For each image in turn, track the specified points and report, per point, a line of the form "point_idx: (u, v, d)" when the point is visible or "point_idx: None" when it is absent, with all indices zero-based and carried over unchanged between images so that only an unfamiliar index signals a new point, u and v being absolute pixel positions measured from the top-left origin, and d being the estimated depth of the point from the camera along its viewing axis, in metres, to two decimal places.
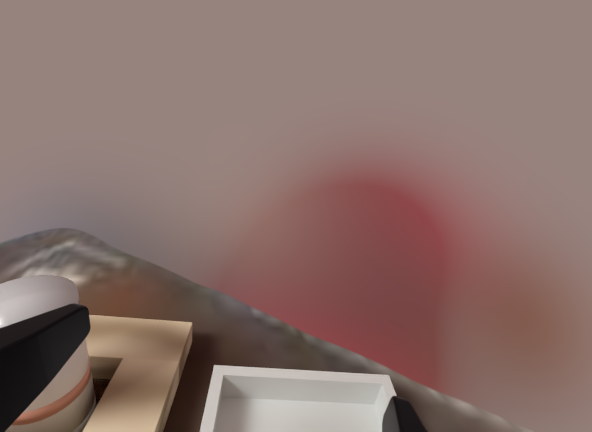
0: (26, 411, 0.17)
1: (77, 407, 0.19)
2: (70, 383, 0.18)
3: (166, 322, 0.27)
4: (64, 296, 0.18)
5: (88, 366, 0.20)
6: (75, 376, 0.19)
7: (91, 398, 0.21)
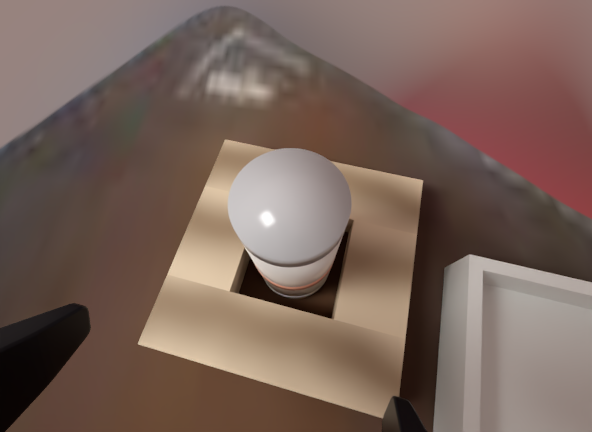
0: (296, 287, 0.16)
1: (327, 274, 0.19)
2: (329, 266, 0.16)
3: (391, 176, 0.22)
4: (335, 194, 0.12)
5: None
6: (333, 259, 0.16)
7: None
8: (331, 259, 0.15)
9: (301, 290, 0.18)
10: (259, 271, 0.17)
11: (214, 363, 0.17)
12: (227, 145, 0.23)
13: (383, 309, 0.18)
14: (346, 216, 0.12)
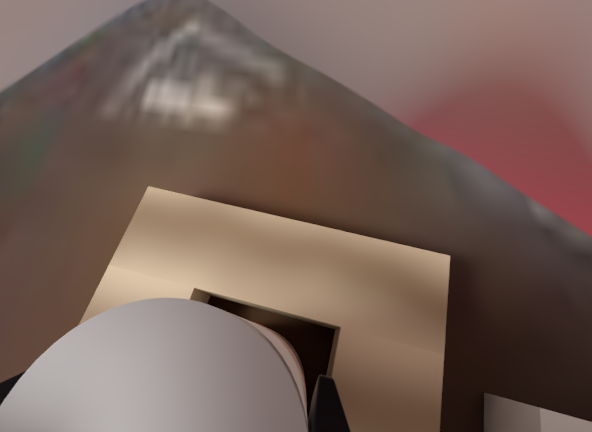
0: None
1: None
2: None
3: (399, 249, 0.14)
4: None
5: (306, 398, 0.10)
6: None
7: None
8: None
9: None
10: None
11: None
12: (150, 196, 0.15)
13: None
14: None
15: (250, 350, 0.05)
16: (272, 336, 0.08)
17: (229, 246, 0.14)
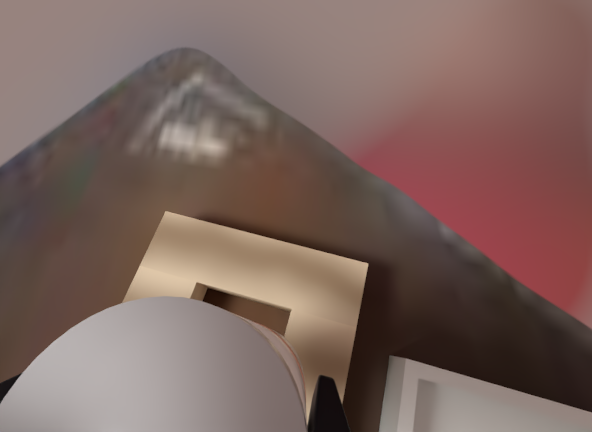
0: None
1: None
2: None
3: (335, 258, 0.20)
4: None
5: (305, 397, 0.10)
6: None
7: None
8: None
9: None
10: None
11: None
12: (167, 218, 0.22)
13: None
14: None
15: (249, 348, 0.05)
16: (271, 335, 0.08)
17: (220, 254, 0.21)
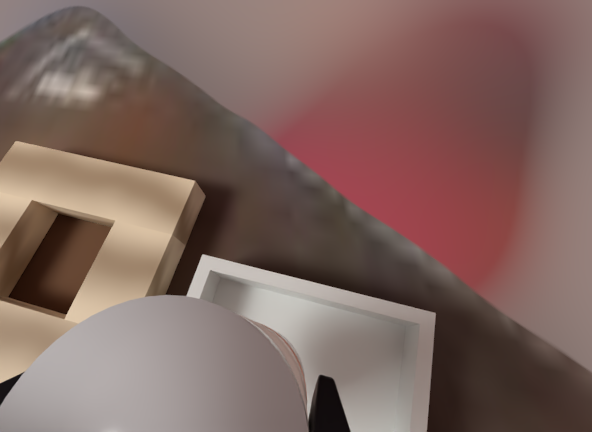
0: None
1: None
2: None
3: (165, 177, 0.22)
4: None
5: (306, 397, 0.10)
6: None
7: None
8: None
9: None
10: None
11: None
12: (16, 147, 0.23)
13: None
14: None
15: (251, 347, 0.05)
16: (273, 334, 0.08)
17: (59, 176, 0.22)
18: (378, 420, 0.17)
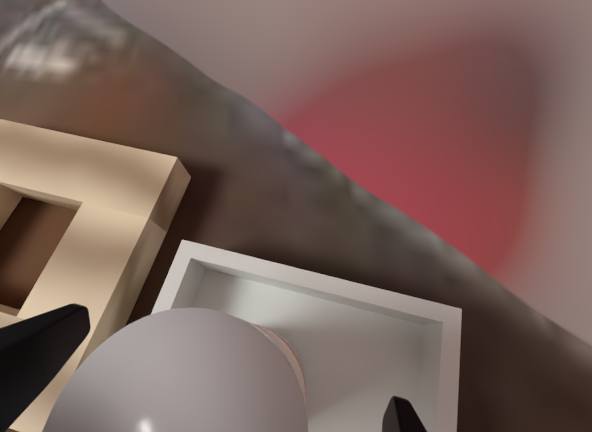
0: None
1: None
2: None
3: (143, 153, 0.19)
4: None
5: (305, 393, 0.11)
6: None
7: None
8: None
9: None
10: None
11: None
12: None
13: None
14: None
15: (260, 350, 0.06)
16: (276, 338, 0.09)
17: (21, 152, 0.19)
18: None
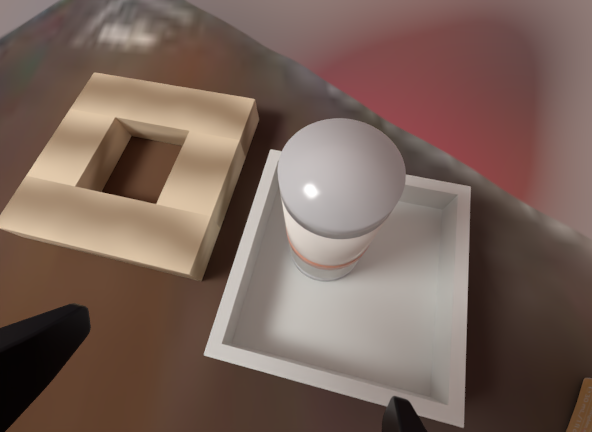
0: (335, 265, 0.16)
1: None
2: (369, 244, 0.16)
3: (228, 97, 0.25)
4: (388, 162, 0.12)
5: None
6: None
7: None
8: (375, 234, 0.14)
9: (338, 270, 0.17)
10: (296, 250, 0.17)
11: (52, 238, 0.21)
12: (95, 76, 0.27)
13: (197, 196, 0.22)
14: (401, 184, 0.11)
15: (375, 133, 0.12)
16: None
17: (136, 98, 0.25)
18: (423, 278, 0.20)
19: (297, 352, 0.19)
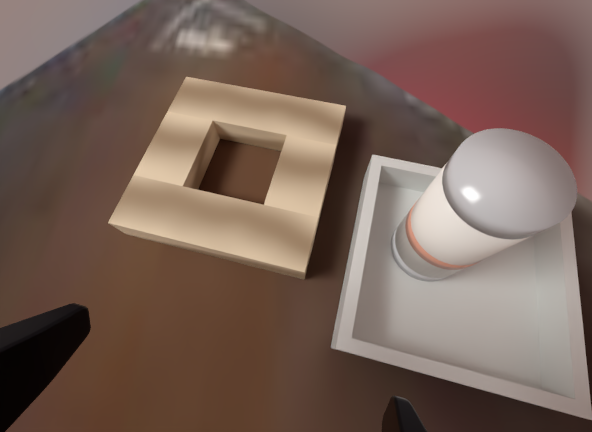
0: (464, 265, 0.17)
1: None
2: None
3: (320, 103, 0.26)
4: (556, 170, 0.13)
5: None
6: None
7: None
8: None
9: (458, 270, 0.18)
10: (425, 250, 0.18)
11: (167, 235, 0.22)
12: (187, 81, 0.28)
13: (303, 197, 0.23)
14: (574, 190, 0.13)
15: (538, 143, 0.13)
16: None
17: (231, 102, 0.26)
18: (522, 279, 0.21)
19: (410, 348, 0.20)
